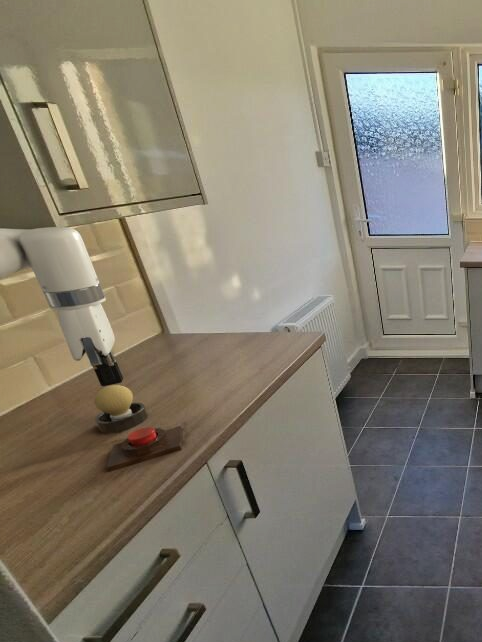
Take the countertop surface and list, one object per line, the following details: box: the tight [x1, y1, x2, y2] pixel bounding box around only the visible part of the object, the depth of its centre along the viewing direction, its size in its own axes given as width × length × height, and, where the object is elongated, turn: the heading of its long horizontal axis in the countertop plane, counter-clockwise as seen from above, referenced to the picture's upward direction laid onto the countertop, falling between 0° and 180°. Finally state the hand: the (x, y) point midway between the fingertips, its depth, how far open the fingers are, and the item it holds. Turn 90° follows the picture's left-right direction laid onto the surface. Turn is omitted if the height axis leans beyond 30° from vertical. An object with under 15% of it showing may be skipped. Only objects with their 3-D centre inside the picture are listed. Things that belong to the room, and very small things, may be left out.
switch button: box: [127, 426, 157, 446], centre depth 89 cm, size 4×4×2 cm
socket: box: [94, 401, 149, 434], centre depth 97 cm, size 9×9×4 cm
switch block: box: [105, 425, 184, 473], centre depth 89 cm, size 12×9×3 cm
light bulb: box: [93, 384, 134, 421], centre depth 96 cm, size 6×6×10 cm
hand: (112, 382), depth 84 cm, fingers closed
